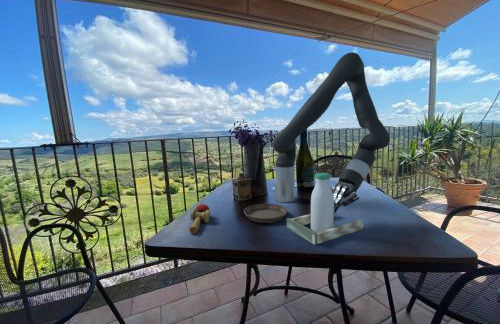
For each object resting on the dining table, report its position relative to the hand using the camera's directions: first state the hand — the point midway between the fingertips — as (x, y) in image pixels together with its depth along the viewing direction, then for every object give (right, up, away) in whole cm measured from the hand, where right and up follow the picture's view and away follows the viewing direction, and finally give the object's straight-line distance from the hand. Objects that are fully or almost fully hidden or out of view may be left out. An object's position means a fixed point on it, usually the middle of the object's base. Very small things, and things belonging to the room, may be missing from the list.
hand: (330, 212), depth 81 cm
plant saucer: (-22, -5, +13) cm, 26 cm away
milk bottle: (-3, -6, -2) cm, 7 cm away
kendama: (-48, -7, +8) cm, 49 cm away
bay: (-2, -6, 0) cm, 6 cm away
